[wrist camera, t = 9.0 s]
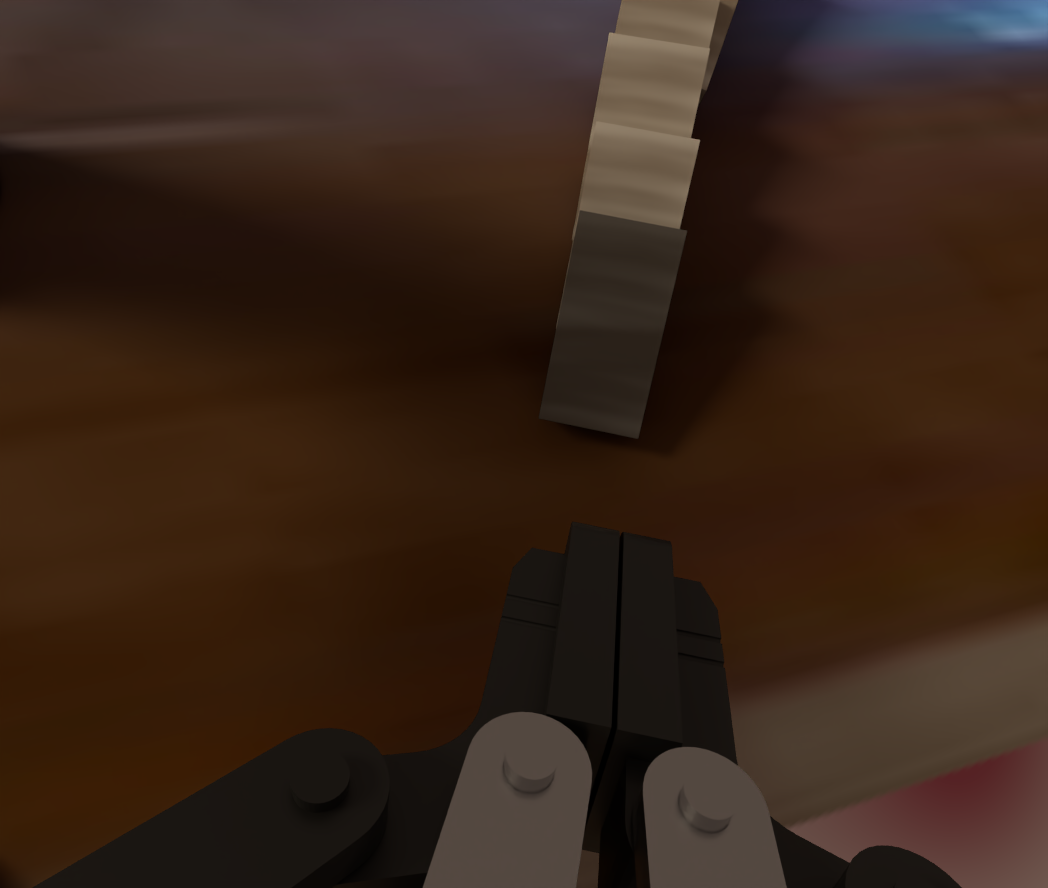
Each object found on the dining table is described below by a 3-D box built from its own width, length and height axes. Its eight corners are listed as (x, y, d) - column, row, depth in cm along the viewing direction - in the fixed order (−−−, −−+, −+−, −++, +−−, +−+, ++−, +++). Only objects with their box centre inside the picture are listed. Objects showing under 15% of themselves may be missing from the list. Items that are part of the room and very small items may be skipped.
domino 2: (665, 256, 38) (710, 48, 36) (571, 239, 39) (609, 32, 36) (661, 256, 41) (703, 61, 38) (573, 241, 41) (608, 46, 38)
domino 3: (652, 347, 37) (700, 140, 35) (555, 328, 37) (596, 121, 35) (649, 342, 39) (693, 147, 37) (558, 324, 40) (596, 129, 37)
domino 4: (638, 438, 36) (687, 230, 33) (538, 418, 36) (579, 210, 34) (635, 428, 38) (681, 232, 36) (542, 409, 38) (581, 213, 36)
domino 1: (678, 178, 40) (724, -21, 38) (588, 160, 40) (629, -38, 38) (673, 186, 42) (716, -1, 40) (588, 169, 42) (627, -17, 40)
